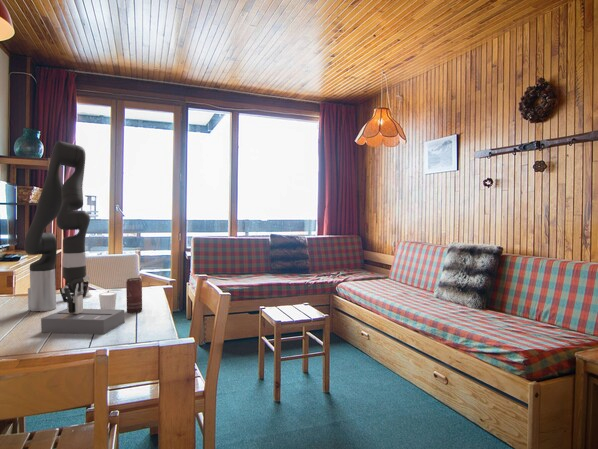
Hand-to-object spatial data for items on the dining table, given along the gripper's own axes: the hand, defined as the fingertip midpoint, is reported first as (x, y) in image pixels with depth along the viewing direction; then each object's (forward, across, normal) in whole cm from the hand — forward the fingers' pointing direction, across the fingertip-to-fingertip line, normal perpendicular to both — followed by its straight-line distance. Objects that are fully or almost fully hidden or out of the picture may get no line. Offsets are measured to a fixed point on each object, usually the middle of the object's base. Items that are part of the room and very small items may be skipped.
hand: (75, 311), depth 145 cm
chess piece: (+6, -47, -29) cm, 56 cm away
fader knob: (+2, 0, 0) cm, 2 cm away
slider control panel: (+6, 0, +4) cm, 7 cm away
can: (+6, -23, +11) cm, 26 cm away
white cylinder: (+6, -25, -2) cm, 26 cm away
